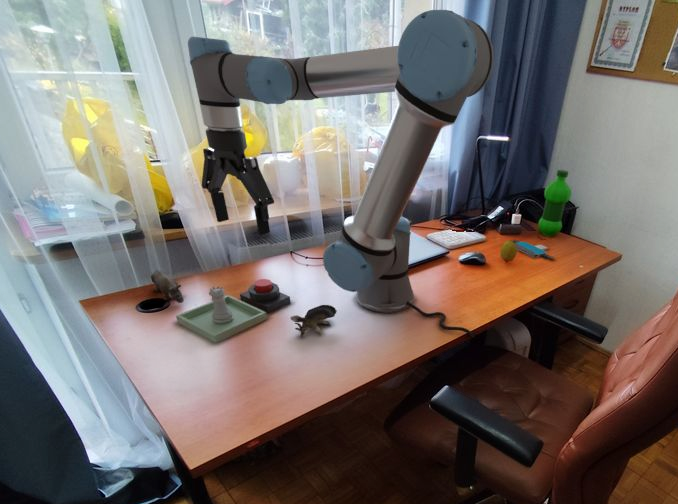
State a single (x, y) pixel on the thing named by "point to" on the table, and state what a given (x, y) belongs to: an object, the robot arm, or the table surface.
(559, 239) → the table surface
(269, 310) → the control box
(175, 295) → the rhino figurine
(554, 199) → the plastic bottle
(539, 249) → the blue usb hub
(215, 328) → the green tray
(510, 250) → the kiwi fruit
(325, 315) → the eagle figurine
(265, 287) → the button
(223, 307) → the rook chess piece
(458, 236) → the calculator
